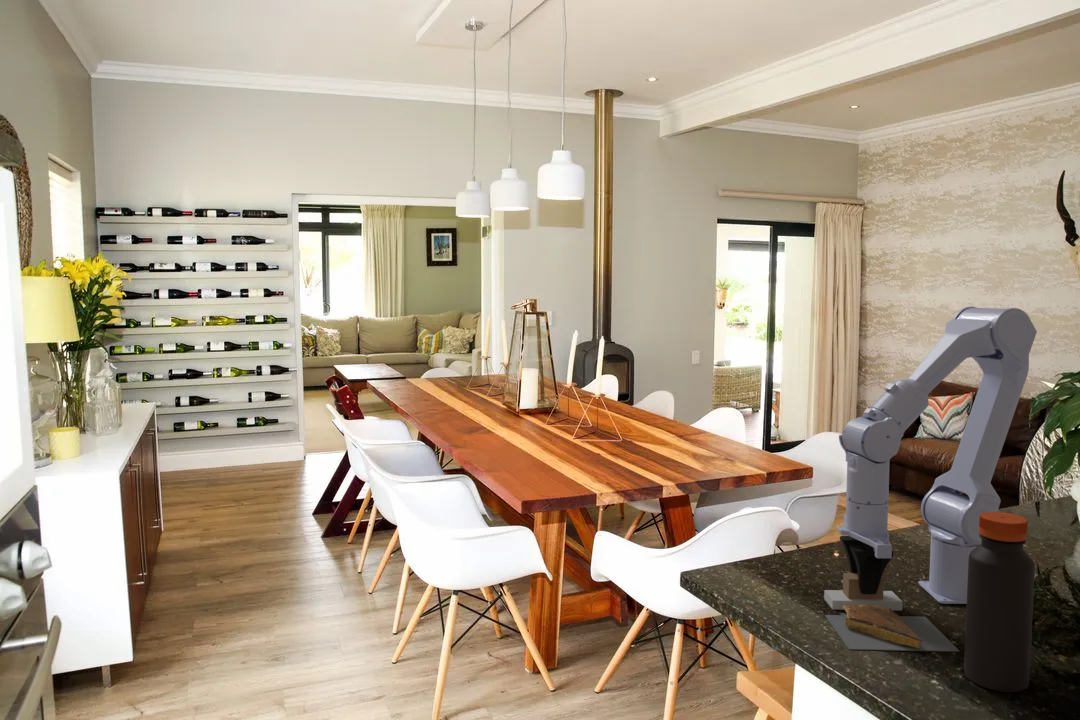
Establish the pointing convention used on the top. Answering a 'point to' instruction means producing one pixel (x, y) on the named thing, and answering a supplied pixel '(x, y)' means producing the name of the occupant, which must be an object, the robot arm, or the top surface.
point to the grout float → (860, 595)
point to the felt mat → (866, 641)
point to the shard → (880, 624)
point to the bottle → (999, 605)
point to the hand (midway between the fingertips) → (864, 589)
